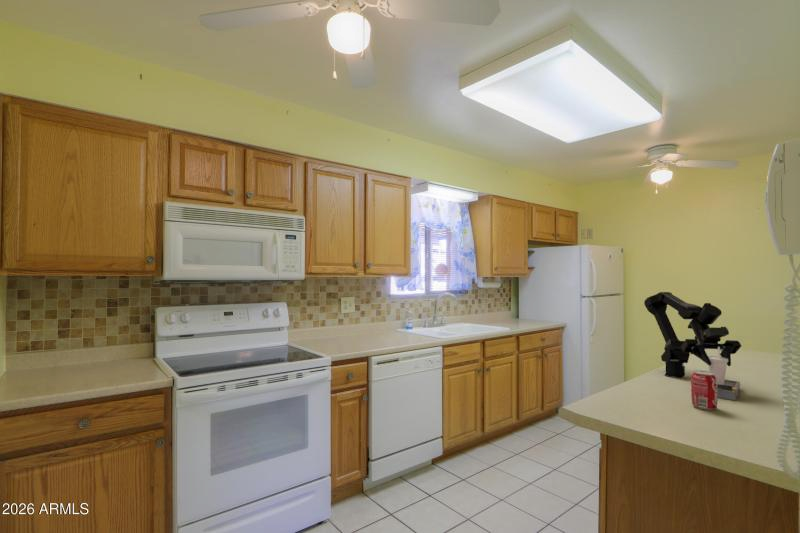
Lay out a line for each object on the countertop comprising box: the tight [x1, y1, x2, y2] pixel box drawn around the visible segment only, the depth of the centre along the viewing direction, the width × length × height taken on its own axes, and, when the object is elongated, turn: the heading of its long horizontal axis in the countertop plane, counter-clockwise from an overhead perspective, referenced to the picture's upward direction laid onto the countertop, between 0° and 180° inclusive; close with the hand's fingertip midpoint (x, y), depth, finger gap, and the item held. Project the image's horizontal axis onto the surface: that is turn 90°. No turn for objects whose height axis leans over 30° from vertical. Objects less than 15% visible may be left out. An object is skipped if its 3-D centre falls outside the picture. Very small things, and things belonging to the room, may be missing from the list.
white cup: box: [707, 347, 729, 385], centre depth 151 cm, size 6×6×14 cm
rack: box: [717, 379, 741, 402], centre depth 154 cm, size 11×20×3 cm, turn 136°
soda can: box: [690, 369, 718, 411], centre depth 135 cm, size 7×7×12 cm
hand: (720, 365), depth 149 cm, fingers closed on white cup, 6 cm apart
